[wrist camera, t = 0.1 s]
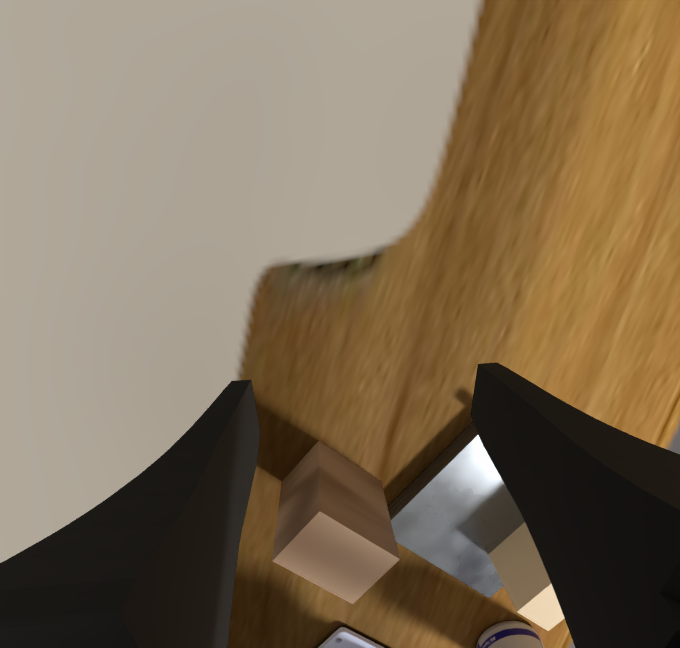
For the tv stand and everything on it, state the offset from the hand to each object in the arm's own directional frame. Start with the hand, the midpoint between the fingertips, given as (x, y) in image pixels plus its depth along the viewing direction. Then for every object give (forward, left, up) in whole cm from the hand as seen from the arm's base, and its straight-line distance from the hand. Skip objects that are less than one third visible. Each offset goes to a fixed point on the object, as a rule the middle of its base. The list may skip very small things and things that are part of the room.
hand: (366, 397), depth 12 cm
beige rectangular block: (-5, -21, -9) cm, 23 cm away
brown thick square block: (-10, -7, -11) cm, 16 cm away
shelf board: (-5, -17, -11) cm, 21 cm away
